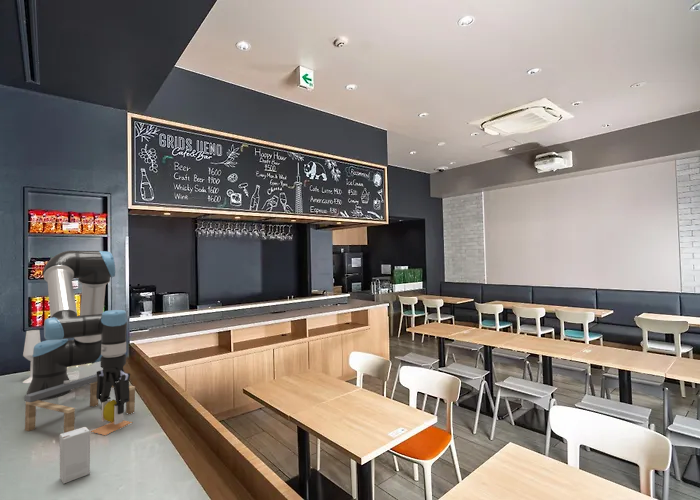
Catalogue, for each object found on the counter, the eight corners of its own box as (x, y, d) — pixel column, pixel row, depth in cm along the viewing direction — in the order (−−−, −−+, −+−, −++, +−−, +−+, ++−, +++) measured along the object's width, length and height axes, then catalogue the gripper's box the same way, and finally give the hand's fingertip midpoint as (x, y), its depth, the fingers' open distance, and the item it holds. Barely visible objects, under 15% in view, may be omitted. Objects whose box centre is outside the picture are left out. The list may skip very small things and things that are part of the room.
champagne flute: (25, 379, 177) (26, 330, 178) (42, 377, 180) (44, 329, 181) (19, 383, 171) (21, 332, 172) (37, 381, 174) (39, 331, 175)
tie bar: (24, 401, 125) (25, 391, 125) (97, 378, 148) (97, 370, 148) (30, 402, 124) (30, 392, 124) (102, 379, 147) (102, 371, 147)
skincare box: (85, 468, 102) (86, 425, 103) (90, 474, 100) (91, 430, 100) (58, 478, 98) (59, 433, 98) (62, 485, 95) (63, 438, 95)
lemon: (112, 427, 124) (113, 404, 124) (98, 424, 125) (99, 401, 125) (124, 420, 130) (126, 397, 130) (111, 417, 131) (113, 395, 131)
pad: (90, 432, 124) (90, 431, 124) (118, 420, 133) (118, 419, 133) (105, 435, 121) (105, 434, 121) (132, 423, 131) (132, 422, 131)
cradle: (24, 430, 125) (25, 401, 125) (94, 404, 148) (95, 379, 148) (67, 441, 117) (68, 410, 118) (134, 412, 140) (135, 386, 140)
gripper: (84, 354, 128) (82, 421, 127) (122, 360, 121) (121, 430, 121) (105, 349, 135) (104, 413, 134) (142, 354, 128) (141, 421, 128)
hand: (112, 421), depth 127 cm, fingers closed on lemon, 6 cm apart
